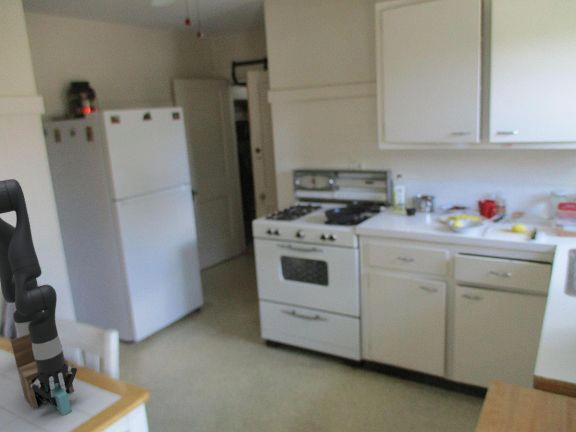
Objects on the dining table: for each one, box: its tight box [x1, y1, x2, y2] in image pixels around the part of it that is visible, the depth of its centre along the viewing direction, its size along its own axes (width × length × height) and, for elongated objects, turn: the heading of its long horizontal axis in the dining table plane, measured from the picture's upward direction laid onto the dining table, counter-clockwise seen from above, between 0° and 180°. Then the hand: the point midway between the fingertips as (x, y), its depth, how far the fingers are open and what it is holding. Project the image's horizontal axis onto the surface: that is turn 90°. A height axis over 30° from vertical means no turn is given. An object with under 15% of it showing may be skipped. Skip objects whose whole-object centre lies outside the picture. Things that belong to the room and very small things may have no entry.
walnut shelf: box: [10, 334, 75, 410], centre depth 152 cm, size 9×12×20 cm
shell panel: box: [44, 383, 72, 416], centre depth 148 cm, size 14×2×6 cm, turn 43°
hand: (60, 404), depth 146 cm, fingers closed on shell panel, 1 cm apart
